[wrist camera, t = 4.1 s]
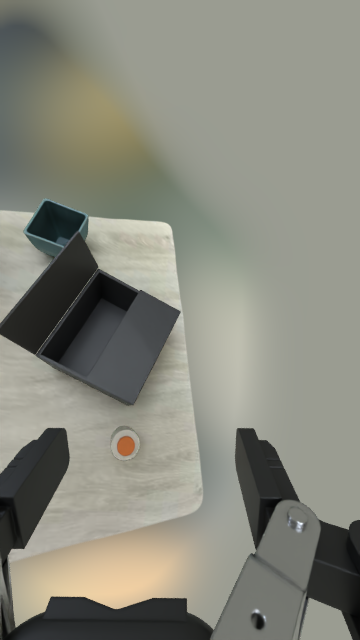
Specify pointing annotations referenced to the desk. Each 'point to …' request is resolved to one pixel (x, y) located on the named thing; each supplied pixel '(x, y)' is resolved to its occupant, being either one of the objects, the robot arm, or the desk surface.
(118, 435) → the orange-capped white cylinder
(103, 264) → the desk surface
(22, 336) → the flap
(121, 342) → the carton
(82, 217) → the flower pot
